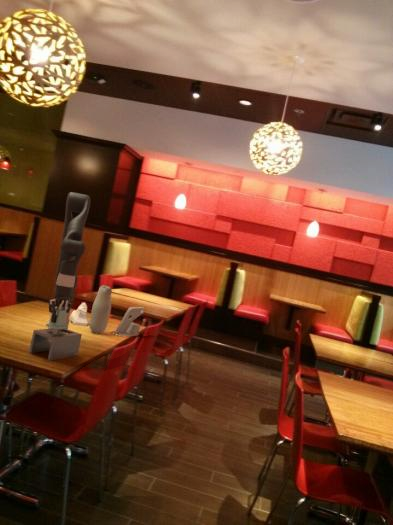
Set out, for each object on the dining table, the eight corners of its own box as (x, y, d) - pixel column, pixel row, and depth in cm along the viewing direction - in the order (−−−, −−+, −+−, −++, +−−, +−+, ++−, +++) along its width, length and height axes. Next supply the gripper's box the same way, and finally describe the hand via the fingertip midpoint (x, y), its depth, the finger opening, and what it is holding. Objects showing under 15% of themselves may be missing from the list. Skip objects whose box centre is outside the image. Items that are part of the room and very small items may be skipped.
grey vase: (108, 334, 259) (118, 288, 258) (96, 335, 250) (107, 287, 249) (95, 329, 263) (105, 284, 263) (83, 330, 254) (94, 283, 254)
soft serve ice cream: (88, 325, 280) (98, 305, 279) (83, 331, 265) (93, 310, 264) (71, 316, 279) (80, 296, 278) (64, 321, 264) (74, 301, 263)
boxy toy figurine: (52, 339, 199) (59, 307, 199) (62, 342, 196) (69, 310, 196) (42, 340, 193) (49, 308, 193) (53, 344, 191) (60, 311, 191)
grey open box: (57, 347, 208) (61, 327, 208) (77, 355, 203) (81, 334, 203) (28, 352, 192) (33, 330, 192) (49, 360, 187) (54, 337, 187)
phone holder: (127, 330, 280) (133, 303, 280) (140, 335, 276) (146, 307, 275) (110, 332, 265) (116, 303, 264) (123, 337, 260) (130, 307, 260)
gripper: (69, 283, 202) (61, 319, 203) (47, 282, 189) (38, 321, 190) (82, 286, 199) (74, 323, 200) (60, 286, 186) (52, 325, 187)
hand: (56, 322), depth 195 cm, fingers closed on boxy toy figurine, 4 cm apart
